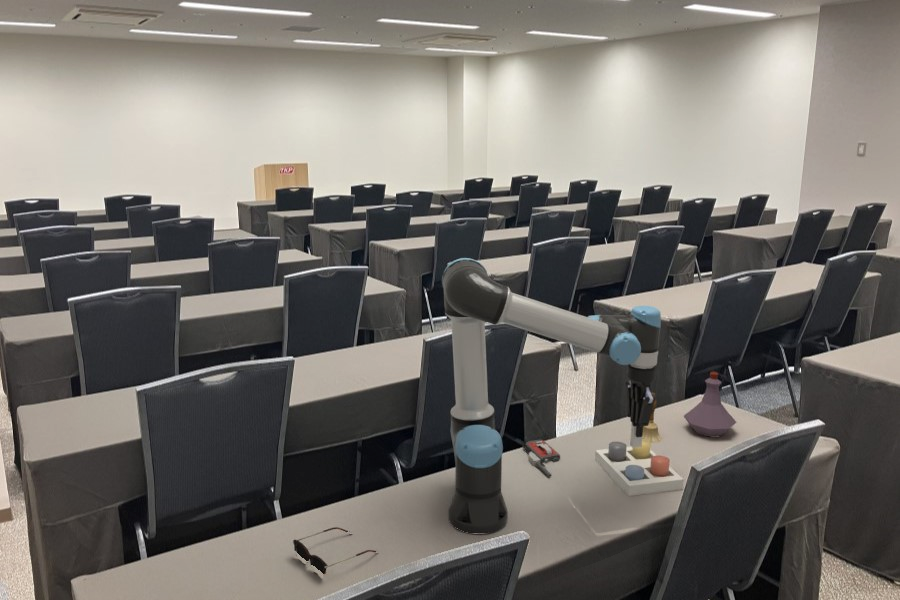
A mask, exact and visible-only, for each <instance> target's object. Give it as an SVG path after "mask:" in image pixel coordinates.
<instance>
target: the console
mask: <svg viewBox="0 0 900 600" xmlns="http://www.w3.org/2000/svg"><path fill="white" fill-rule="evenodd" d="M608 452H609V448H603V449H596V450H595V452H594V454H595V455H594V456H595V457H594V460H595V461H596V463H597V464H598V465H599V466H600V467H601V468H602V469H603V470H604V471H605V473H607V474H608V475H609V477H610V478H611V479H612V480H613V481H614V482H615V483H616V484H617V485H618V486H619V488H621V489H622V490H623V492H624V493H625V494H626V495H627V496H628V497H631V496H632V497H633V496H641V495H649V494H657V493H666V492H672V491H680V490H683V487H684V478H683V477H682V476H680V475H679V473H677V472H676V471H675V470H674V469H673V468H672V467H671V466H669V474H668V476H666V477H657V476H654V475H652V474H651V473H650V465H651V457H652V456H656V455H657V453H656V452H654V451H653V450H652V449H650V457H649V458H647V459H638V458H635V457H633V456H632V447H631V446H630V445H629V446H627V449H626V460H625V461H623V462H615V461H611V460H610V459H609V458H608ZM628 465H638V466H641V467H643V468H644V479H642V480H634V481H629V480H628V479H627V478H626V477H625V471H626V466H628Z"/></svg>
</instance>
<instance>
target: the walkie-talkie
mask: <svg viewBox="0 0 900 600" xmlns="http://www.w3.org/2000/svg"><path fill="white" fill-rule="evenodd" d="M522 448H523V450H524V451H525V453H527V454H528V462H529V463H531V465H532V466H533V467H538V469H540V470H541V471H542V472H543V473H545V475H547V476H548V477H550V476H552V474H551V473H550V471H548V470H547V468H545V467H546V465H545V464H544V463H549V462H552V463H555V462H556V463H557V462H560V460H561V455H560V454H559V452H557V451H556V450H555V449H554V448H553V447H552V446H550V445H549V443H547V442H546V440H543V439H535V440H529V441H527V442H526V443H525V444H523V445H522Z"/></svg>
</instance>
